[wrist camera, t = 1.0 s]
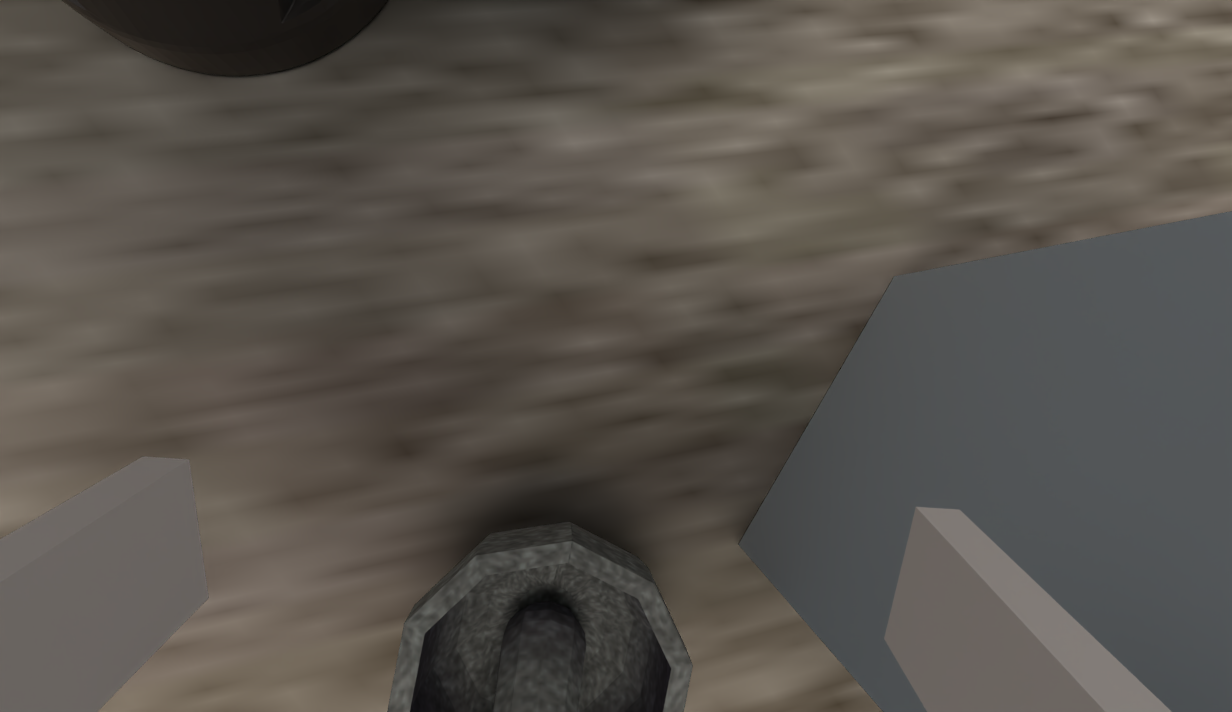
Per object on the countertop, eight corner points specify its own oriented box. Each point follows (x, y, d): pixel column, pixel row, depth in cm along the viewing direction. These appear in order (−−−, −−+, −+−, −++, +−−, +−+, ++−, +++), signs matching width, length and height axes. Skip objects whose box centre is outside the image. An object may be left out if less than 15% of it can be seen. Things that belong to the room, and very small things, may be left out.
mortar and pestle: (461, 469, 26) (373, 583, 14) (673, 505, 26) (765, 643, 14) (412, 726, 26) (281, 1064, 14) (625, 754, 26) (677, 1093, 15)
